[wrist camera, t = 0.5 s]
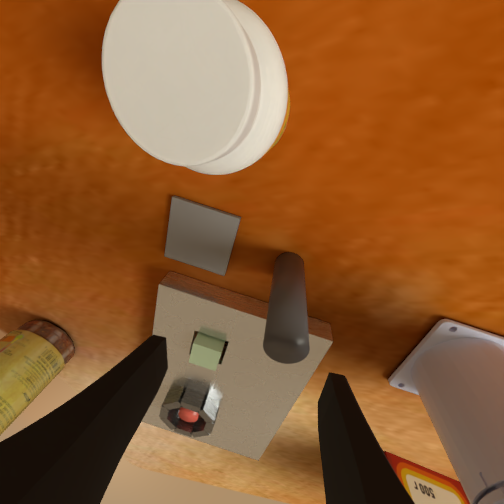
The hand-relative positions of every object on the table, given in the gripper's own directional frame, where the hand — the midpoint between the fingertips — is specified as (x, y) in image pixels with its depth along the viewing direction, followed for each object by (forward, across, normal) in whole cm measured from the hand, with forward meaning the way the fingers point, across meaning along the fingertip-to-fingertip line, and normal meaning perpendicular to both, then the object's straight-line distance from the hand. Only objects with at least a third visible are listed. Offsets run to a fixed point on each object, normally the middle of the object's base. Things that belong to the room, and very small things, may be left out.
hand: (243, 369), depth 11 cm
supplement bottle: (+10, +3, -10) cm, 14 cm away
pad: (+8, +4, +8) cm, 12 cm away
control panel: (+9, +2, +13) cm, 16 cm away
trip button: (+8, +5, +17) cm, 19 cm away
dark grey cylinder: (+9, -2, 0) cm, 10 cm away
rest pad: (+9, +5, -2) cm, 11 cm away
